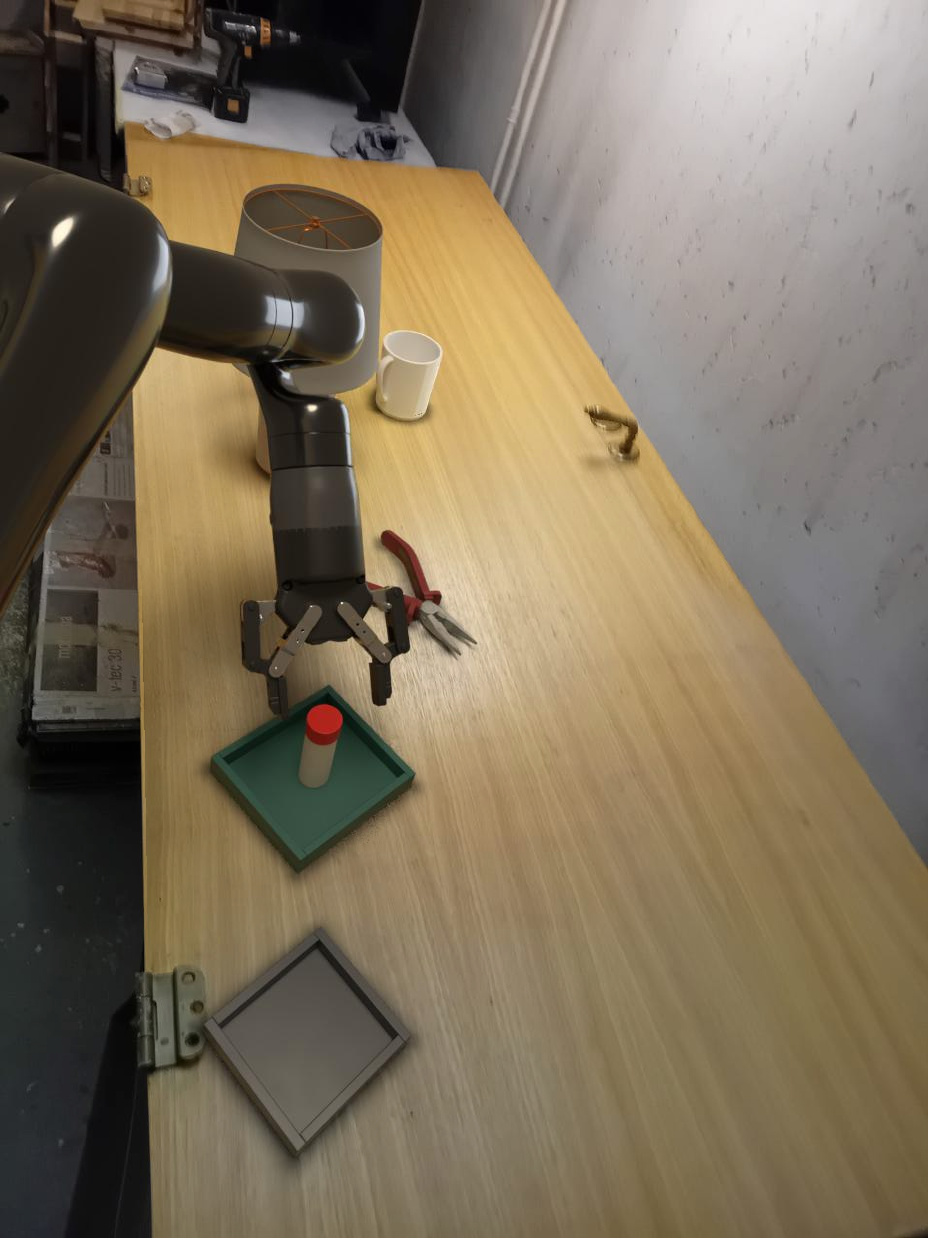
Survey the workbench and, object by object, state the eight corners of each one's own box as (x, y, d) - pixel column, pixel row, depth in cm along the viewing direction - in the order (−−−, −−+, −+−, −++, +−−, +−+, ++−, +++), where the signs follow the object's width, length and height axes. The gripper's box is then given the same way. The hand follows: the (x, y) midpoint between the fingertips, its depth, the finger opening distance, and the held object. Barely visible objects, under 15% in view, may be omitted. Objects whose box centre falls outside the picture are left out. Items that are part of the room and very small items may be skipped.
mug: (402, 382, 132) (414, 324, 124) (440, 413, 129) (455, 355, 121) (350, 401, 125) (360, 340, 118) (389, 433, 122) (401, 373, 115)
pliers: (433, 678, 94) (438, 664, 92) (319, 572, 100) (322, 557, 98) (497, 634, 101) (503, 620, 99) (387, 538, 107) (390, 523, 105)
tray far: (297, 873, 75) (300, 861, 73) (210, 770, 80) (210, 756, 78) (411, 786, 84) (416, 773, 82) (326, 698, 89) (329, 684, 87)
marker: (311, 795, 80) (322, 739, 73) (290, 772, 81) (299, 715, 74) (336, 777, 82) (349, 721, 75) (316, 755, 83) (327, 698, 76)
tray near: (294, 1158, 61) (297, 1152, 59) (203, 1033, 65) (203, 1024, 63) (406, 1043, 68) (412, 1035, 66) (317, 937, 72) (320, 926, 70)
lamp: (301, 408, 121) (328, 168, 97) (385, 482, 115) (436, 244, 90) (188, 445, 110) (185, 184, 85) (273, 529, 103) (297, 273, 79)
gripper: (237, 528, 63) (257, 733, 65) (411, 517, 69) (424, 707, 70) (224, 530, 70) (242, 716, 72) (383, 521, 76) (396, 693, 77)
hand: (332, 711), depth 71 cm, fingers open, 8 cm apart
